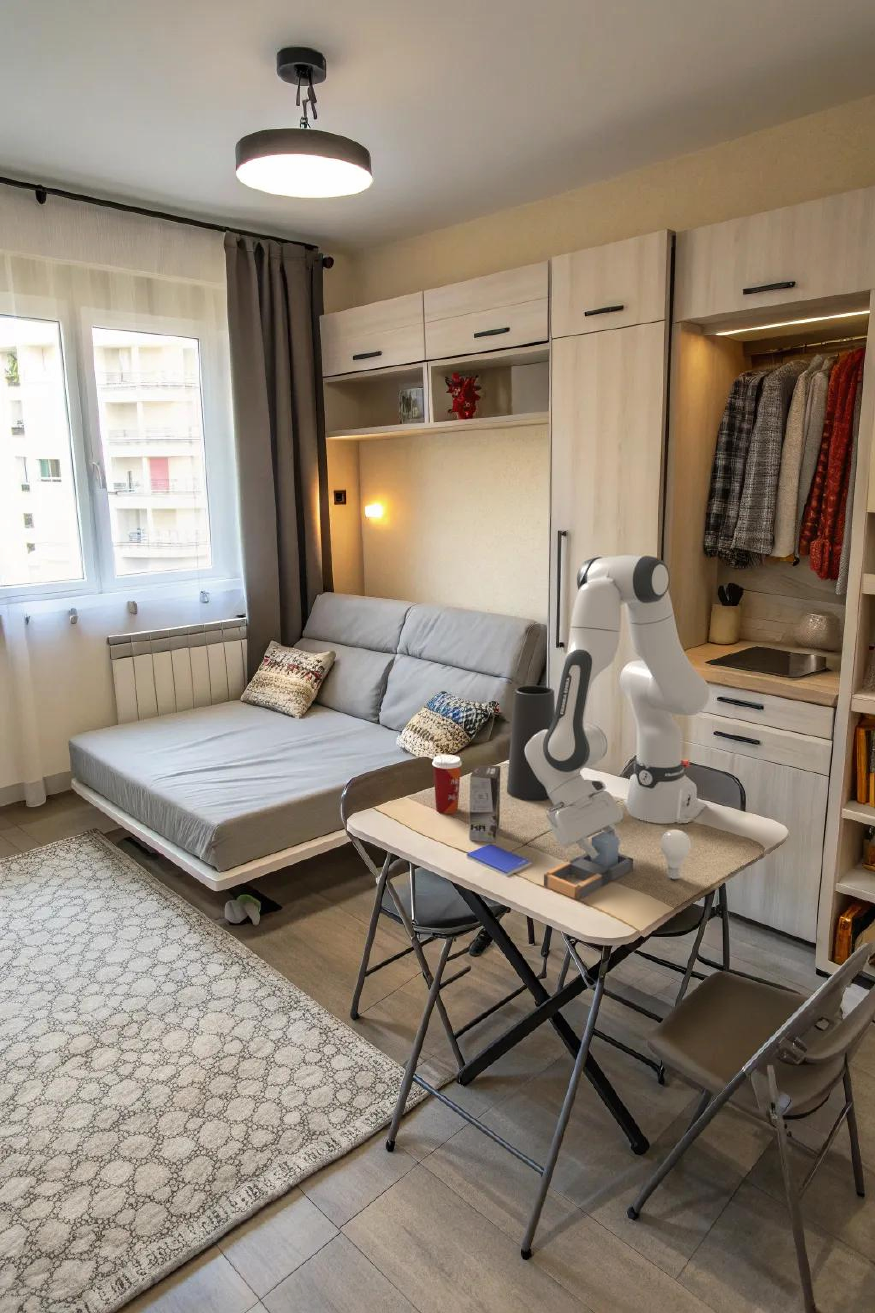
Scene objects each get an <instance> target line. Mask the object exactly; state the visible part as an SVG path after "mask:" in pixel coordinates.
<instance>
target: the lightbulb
mask: <svg viewBox="0 0 875 1313" xmlns="http://www.w3.org/2000/svg"><path fill="white" fill-rule="evenodd" d="M659 844H660V846H659V847H660V850H661V852H662V854H663V855H664V858H665V862H666V865H667V870H666V871H667V873H666V876H667V877H668V878H670V879H671V878H672V880H678V879H680V878H681V868H682V865H683V862H684V860H685V859H686V858H687V857H688V855H689V854H690V852H691V849H692V841H691V839H690V837H689V836H688V834H687V833H685V832H684V831H682V830H680V829H669V830H667V831H666V832H664V833H663V834H662V836H661V839H660V841H659Z"/></svg>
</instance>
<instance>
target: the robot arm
mask: <svg viewBox="0 0 875 1313" xmlns="http://www.w3.org/2000/svg"><path fill="white" fill-rule="evenodd" d="M670 579H671V578H670V572H669V568H668V567H667V565H666V564H665V562H664V561H663V560H662V559H661V558H659V557H655V556H650V555H645V556H640V555H631V554H622V555H621V554H620V555H615V556H614V555H613V556H606V557H601V556H597V557H593V558H589V559H587V560H586V561H584V562H583V563H582V564H581V566H580V567H579V570H578V572H577V575H576V586H577V590H578V591H577V595H576V597H575V601H574V605H573V610H572V614H571V619H570V625H569V626H570V628H569V635H568V636H569V637H568V644H567V650H566V651H567V652H566V656H565V661H564V664H563V665H564V666H563V668H562V674H561V679H560V683H559V688H558V689H559V690H558V694H557V699H556V700H557V701H556V705H555V715H554V719H553V722H552V724H551V726H550V728H549V730H547V729H545V730H542V731H539V732H538V733H537V734H535V735H534V736H533V737H532V738H531V739H530V740H529V741H528V742H527V744H526V746H525V756H526V758H527V761H528V763H529V765H530V767H531V768H532V770H533V772H534V774H535V775H536V777H537V779H538V780H539V781H540V782H541V783H542V784H543V785H544V787H545V788H546V791H547V794H548V796H549V798H550V799H549V800H550V801H551V803H552V804H553V805H552V806H549V807H548V808H547V811H546V818H547V820H548V821H549V826H550V828H551V830H552V832H553V835H554V836H555V838H556V840H557V841H558V843H559V845H560V846H562V847H563V848H565V849H567V848H570V847H572V846H573V845H575V844H577V845H578V847H579V849H581V850H583V851H584V852H585V853H587V852H588V854H589V855H590V857H591V858H592V859H594V858H596V857H598V856H599V855H600V852H599V851H598V848H597V847H595V848H594V847H593V846H592V845H591V843H589V842H590V839H589V838H590V837H593V836H595V835H596V834H598V833H601V832H605V833H608V834H611V835H614V836H617V837H618V832H617V831H618V830H617V827H616V826H615V825H616V824H617V823H618V822H620V821H622V820H623V818H624V814H623V810H622V809H621V807H620V806H619V804H618V803H617V801H616V800H615V798H614V797H613V795H612V794H611V793H610V792H609V791H607V790H606V788H607V787H606V784H605V783H604V781H602V780H593V779H591V780H590V779H586V778H585V779H584V777H583V776H582V774H581V771H582V770H583V769H585V768H587V767H592V766H594V765H596V764H598V763H599V762H600V761H602V760H603V758H604V757H605V756H606V753H607V751H608V739H607V737H606V734H605V733H604V732H603V730H602V729H601V728H600V727H598V726H596V725H594V724H590V723H584V722H585V716H586V712H587V705H588V698H589V694H590V691H591V690H590V689H591V687H592V684H593V682H594V681H595V679H596V678H597V677H598V675H599V674H600V673H602V672H603V671H604V670H605V669H607V668H608V667H610V665H611V664H612V663H614V661H615V658H616V654H617V652H618V649H619V645H620V644H619V643H620V639H621V627H622V626H621V625H622V605H623V604H624V607H625V610H624V611H625V615H626V621H627V627H628V632H629V638H630V643H631V647H632V649H633V651H634V653H635V654H636V655H637V656H638V657H639V658H640V660H632V661H631V662H628V663H627V664H626V665H625V666H624V667H623V668H622V671H621V672H620V677H619V686H620V689H621V691H622V693H623V694H624V695H625V697H626V698H627V700H628V702H629V704H630V706H631V709H632V713H633V716H634V720H635V725H636V757H635V758H634V762H633V774H632V775H630V778H629V782H628V783H629V786H628V793H627V798H625V799H623V805H624V807H626V811H627V813H628V814H629V815H630V816H631V817H632V818H634V819H637V820H639V819H640V821H643V820H644V821H643V822H646V821H647V823H652V822H653V823H654V824H675V823H674V822H677V823H676V824H681V823H688V822H690V821H691V820H692V819H693V820H694V819H695V818H696V817H697V816H698V815H699V814H700V813H701V812H702V811H703V810H704V809H705V808H706V806H705V805H707V804H706V801H704V800H703V799H700V798H698V797H697V793H698V792H697V791H698V788H697V784H696V783H695V782H693V780H691V779H690V778H689V777H687V775H686V774H685V773H686V772H685V768H686V769H688V768H689V766H690V764H691V762H690V760H688V759H684V758H683V757H682V753H683V741H684V740H683V737H684V736H683V732H682V729H681V728H680V726H679V725H678V724H677V722H676V721H675V719H674V717H673V715H679V716H680V715H682V716H696V715H698V714H700V713H701V712H703V710H704V709H705V708H706V706H707V704H708V702H709V699H710V687H709V684H708V682H707V681H706V680H705V678H703V677H702V676H701V675H700V673H699V672H697V670H696V669H695V668H694V667H693V665H692V664H691V662H690V660H689V659H688V656H687V654H686V652H685V651H684V649H683V647H682V644H681V641H680V638H679V633H678V630H677V624H676V619H675V614H674V609H673V608H674V607H673V603H672V599H671V596H670V593H669V590H668V589H669V586H670ZM704 807H705V808H704ZM703 808H704V809H703ZM702 809H703V810H702ZM701 810H702V811H701ZM700 811H701V812H700ZM699 812H700V813H699ZM698 813H699V814H698ZM697 814H698V815H697ZM696 815H697V816H696ZM695 816H696V817H695ZM694 817H695V818H694ZM693 820H692V821H693ZM692 821H691V822H692ZM691 822H690V823H691ZM688 824H689V823H688ZM621 844H622V842H621V840H620V839H619V846H620V845H621Z"/></svg>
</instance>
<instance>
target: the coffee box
mask: <svg viewBox="0 0 875 1313" xmlns="http://www.w3.org/2000/svg"><path fill="white" fill-rule="evenodd" d="M469 778H470V779H469V780H470V783H469V832H468V833H469V834H468V835H469V836H468V838H469V840H470V841H476V842H486V843H487V842H488V843H494V842H495V841H496V839H497V836H498V832H499V830H500V818H501V817H500V816H501V814H500V813H501V812H500V811H501V810H500V809H501V806H500V804H501V801H500V800H501V765H488V764H487V765H486V764H484V765H482V764H481V765H480V764H475V766H474V768H473V770H472V772H471V774H470V777H469Z"/></svg>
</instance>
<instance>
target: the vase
mask: <svg viewBox="0 0 875 1313" xmlns="http://www.w3.org/2000/svg"><path fill="white" fill-rule="evenodd" d="M555 710H556V705H555V690H554V689H553V688H552V687H549V686H543V685H529V684H528V685H522V686H518V687H515V688H514V694H513V706H512V718H511V728H510V730H511V731H510V742H509V744H510V745H509V755H508V768H507V769H508V770H507V781H506V782H507V783H506V784H507V785H506V793H507V794H508V795H510V797H513V798H515V799H518V800H522V801H527V802H528V801H529V802H533V801H534V802H535V801H537V802H538V801H546V800H551V799H550V798H549V796H548V794H547V791H546V788H545V787H544V785H543V784H542V783H541V782H540V781H539V780H538V779H537V777H536V775H535V774H534V772H533V770H532V768H531V767H530V765H529V763H528V761H527V758H526V756H525V746H526V744H527V742H528V741H529V740H530V739H531V738H532V737H533V736H534V735H535V734H537V733H538V732H539V731H542V730H545V729H547V730H549V728H550V726H551V724H552V722H553V719H554V715H555Z"/></svg>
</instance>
